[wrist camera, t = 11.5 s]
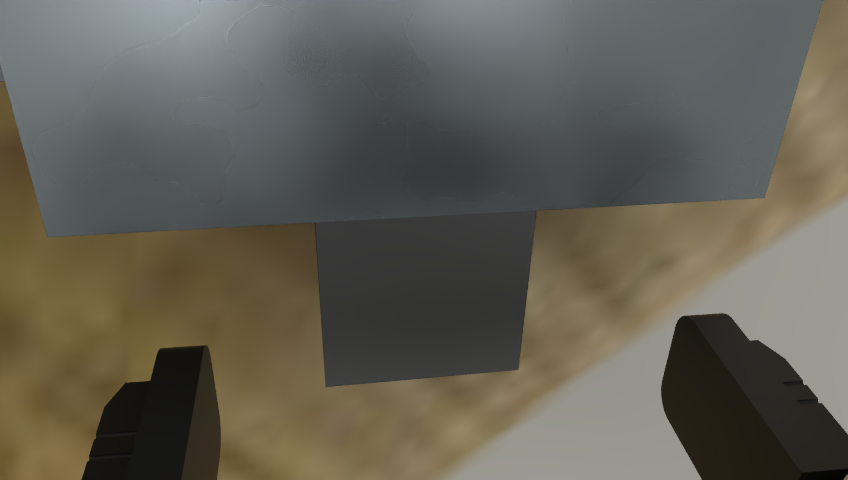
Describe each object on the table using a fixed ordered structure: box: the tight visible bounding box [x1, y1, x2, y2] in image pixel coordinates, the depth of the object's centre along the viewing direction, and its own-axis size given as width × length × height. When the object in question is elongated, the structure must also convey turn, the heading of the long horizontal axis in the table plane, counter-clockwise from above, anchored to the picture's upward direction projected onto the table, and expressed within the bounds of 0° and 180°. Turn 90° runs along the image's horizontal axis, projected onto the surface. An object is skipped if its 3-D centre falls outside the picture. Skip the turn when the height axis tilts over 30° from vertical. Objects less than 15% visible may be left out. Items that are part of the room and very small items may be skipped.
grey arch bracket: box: [0, 0, 823, 237], centre depth 14 cm, size 17×4×8 cm, turn 89°
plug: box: [315, 210, 536, 387], centre depth 16 cm, size 4×13×6 cm, turn 179°
